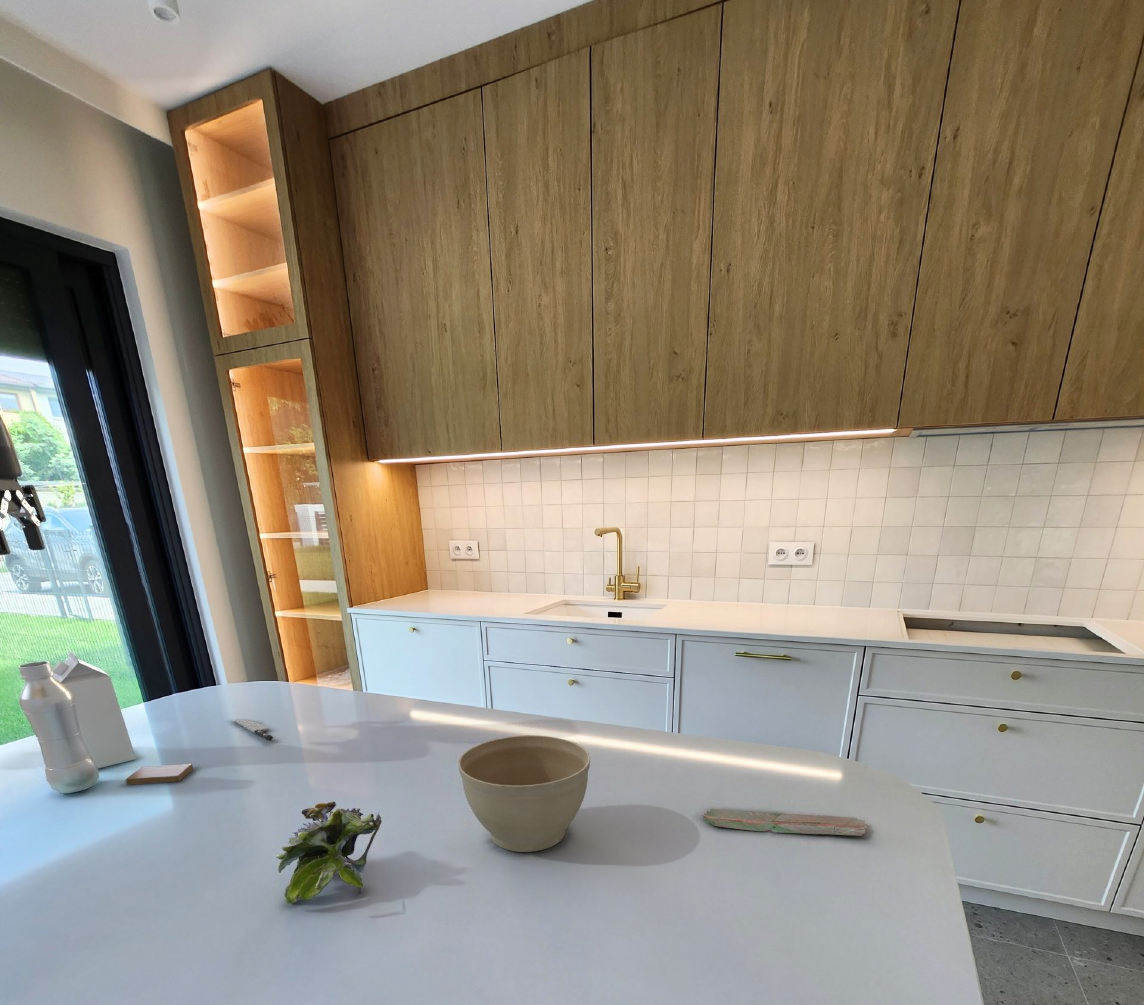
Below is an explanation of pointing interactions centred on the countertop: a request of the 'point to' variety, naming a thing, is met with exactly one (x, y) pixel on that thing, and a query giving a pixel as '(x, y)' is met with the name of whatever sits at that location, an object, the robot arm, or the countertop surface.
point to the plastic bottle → (56, 729)
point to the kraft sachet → (159, 774)
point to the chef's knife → (255, 728)
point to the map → (786, 822)
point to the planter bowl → (525, 788)
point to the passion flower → (326, 850)
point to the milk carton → (96, 711)
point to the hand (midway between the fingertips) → (20, 552)
